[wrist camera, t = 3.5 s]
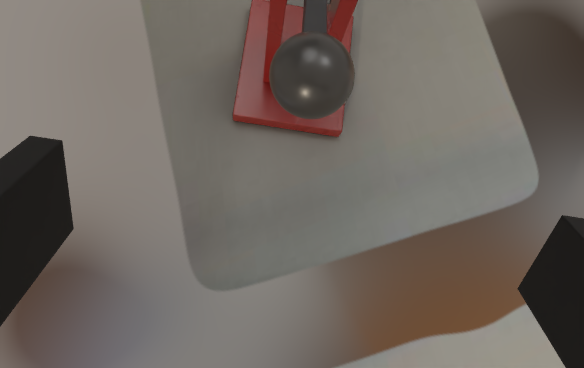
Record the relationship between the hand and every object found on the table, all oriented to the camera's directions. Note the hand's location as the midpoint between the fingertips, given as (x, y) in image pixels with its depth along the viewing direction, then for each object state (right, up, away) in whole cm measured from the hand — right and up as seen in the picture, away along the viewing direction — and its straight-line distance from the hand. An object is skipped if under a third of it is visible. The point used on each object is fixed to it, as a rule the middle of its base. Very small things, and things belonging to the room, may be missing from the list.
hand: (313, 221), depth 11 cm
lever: (0, +8, +11) cm, 14 cm away
